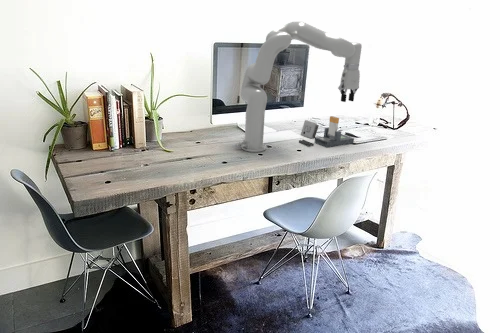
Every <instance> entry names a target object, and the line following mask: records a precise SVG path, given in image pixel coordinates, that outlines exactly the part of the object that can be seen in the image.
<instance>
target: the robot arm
mask: <svg viewBox="0 0 500 333" xmlns="http://www.w3.org/2000/svg"><path fill="white" fill-rule="evenodd" d="M265 37H266V38H265V41H264V42H263V43H262V45H261V46H260V47H259V50H258V54H257V56H256V60H255V62H252V63H251V64H249V65H248V66H247V67H246V69H245V71H244V76H243V79H242V84H241V89H240V97H241V100H242V101H243V102H245V103H246V104H247V106H246V110H245V123H244V124H245V125H244V126H245V128H244V129H245V130H244V139H243V140H242V141H241V142H236V143H235V146H236V147H241V150H243V151H245V152H250V153H260V152H264V151H266V148H267V147H266V145H264V134H265V132H264V129H265V116H266V115H265V114H266V107H267V102H268V95H267V93H266V91H265V90H264V89H263V88H262V87H261V85H262V86H264V85H266V84H267V83H269V81H270V79H271V74H272V71H273V68H274V62H275V60H276V58H277V56H278V54H280V52H282V51H283V50H286V49H288V48H289V47H290V45H291V43H292V41H294V40H295V41H296V40H297V41H300V42H302V43H304V44H306V45H309V46H311V47H312V48H313V47H314V48H315V49H319V50H323V51H328V52H331V54H332V55H333V56H334V57H338V58H344V64H343V70H342V74H341V78H340V83H339V86H337V89H338V90H339V92H340V94H341V96H340V102H343V103H346V102H347V92H348V90H349V93H348V101H349V102H354V99H355V94H356V93H357V90H358V89H360V77H361V74H360V72H361V71H360V60H361V54H362V43H359V42H351V41H349V40H346V39H344V38H342V37H339V36H336V35H334V34H331V33H330V32H326V31H323V30H321V29H319V28H317V27H314V26H313V25H311V24H309V23H306V22H304V21H290V22H288V23H286V24H283V25H282V26H280V27H278V28H275V29H273V30H271V31H269V33H267V35H266V36H265Z"/></svg>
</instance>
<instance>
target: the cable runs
mask: <svg viewBox="0 0 500 333" xmlns="http://www.w3.org/2000/svg"><path fill="white" fill-rule="evenodd" d="M298 143H299V144H302V145H305V146H307V147H313V146H315V143H313V142H311V141H309V140H306V139H302V140H301V139H300V140H298Z"/></svg>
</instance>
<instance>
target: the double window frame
mask: <svg viewBox="0 0 500 333" xmlns="http://www.w3.org/2000/svg"><path fill="white" fill-rule="evenodd" d="M328 131H329V126H328V127H325V128H324V131H323V136H318V137H315V138H314V143H313V144H315V145H317V146H320V147H322V148H325V149H328V148H329V149H330V148H335V147H340V146H341V147H342V146H346V145H353V144H354V142H355V138H354V137H352V136H348V135H345V134H343V133H342V131H340V130H337V131H336V132H335V139H334V138H331V137H329V136H327V134H328Z"/></svg>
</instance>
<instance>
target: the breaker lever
mask: <svg viewBox="0 0 500 333" xmlns="http://www.w3.org/2000/svg"><path fill="white" fill-rule="evenodd" d="M339 122H340V118H339V117H336V116H333V115H330V116H329V122H328V123H329V124H328V127H329V131H328V134H327V136H329V137H331V138H334V139H335V132H336V131H338V128H339Z"/></svg>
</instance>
